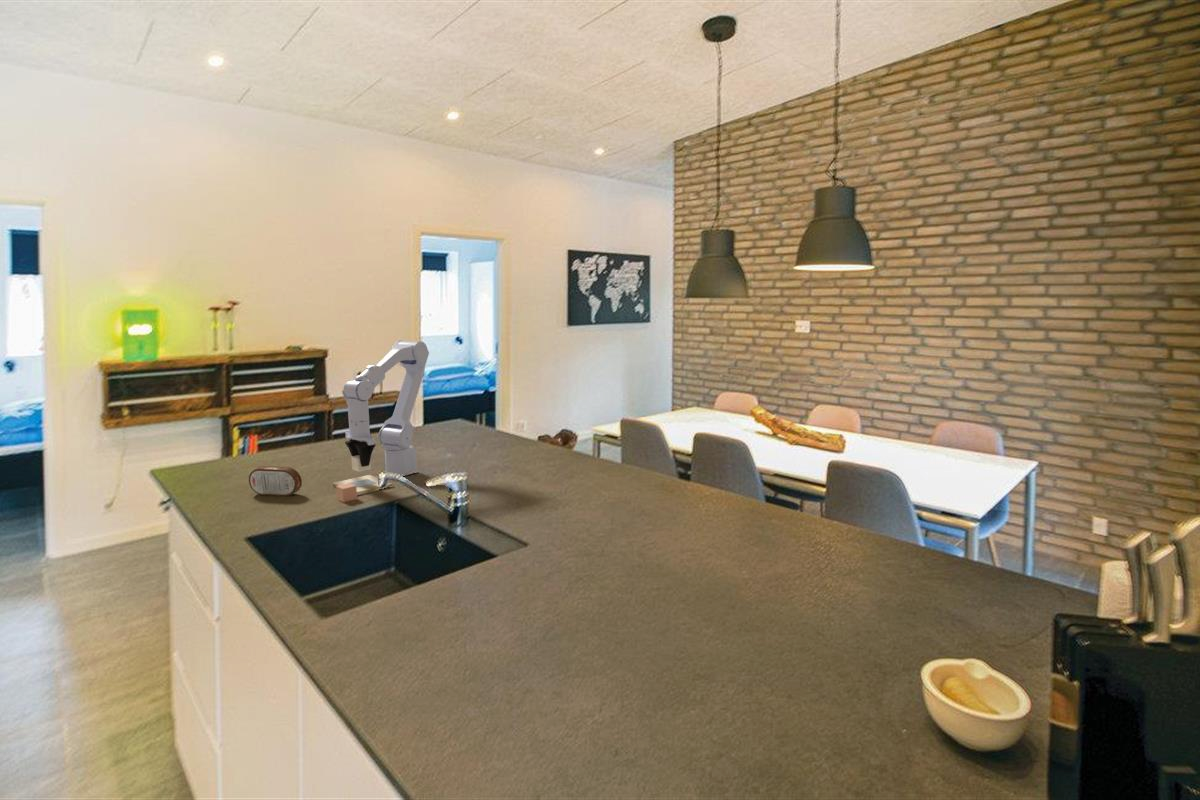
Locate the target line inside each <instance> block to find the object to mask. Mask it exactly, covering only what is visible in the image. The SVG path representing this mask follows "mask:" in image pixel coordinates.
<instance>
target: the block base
mask: <svg viewBox="0 0 1200 800" xmlns="http://www.w3.org/2000/svg"><path fill="white" fill-rule="evenodd" d="M371 458H372V457H371ZM371 458H370V463H369V466H364V467H362V466H361V463H360V457H359V455H357V456H352V455H351V459H350V460H351V470H352V471H355V472H358V473H360V472H363V471H364V472H365V471H369V470H371V469H372V461H371Z"/></svg>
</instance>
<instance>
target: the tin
mask: <svg viewBox="0 0 1200 800" xmlns="http://www.w3.org/2000/svg"><path fill="white" fill-rule="evenodd" d="M302 480H303V479H302V477H301V475H300V473H299V472H298V470H296V469H294V468H293V467H290V466H280V465H279V466H277V465H276V466H275V465H261V466H258V467H256V468H255V469H253V470H252V471H250V473H249V475H248V484H249V487H250V488H251V490H252V491H253V492H254V493H256V494H257V495H261V496H273V495H274V497H276V496H277V497H289V496H292V495H294V494H296V493H297V492H299V491H300V489H301V488H302V486H303V485H302V484H303V481H302Z"/></svg>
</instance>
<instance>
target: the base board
mask: <svg viewBox="0 0 1200 800" xmlns="http://www.w3.org/2000/svg"><path fill="white" fill-rule="evenodd" d="M378 478H379V477H377V476H374V475H372V474H367V475H363V476H358V477H353V478H349V479H344V480H339V481H334V482H332V486H333V487H334V488H336V486H339V485H343V484H348V483H351V484H353V485H355V486H356V489H357V496H361V495H365V494H368V493H373V492H377V491H380V490H379V489H381V488H380V487H379V485H378ZM392 485H393V486H394V484H393V483H392V482H390V483H388V484H387V485H386V486H385V487H383V488H382V490H385V489H384V488H386V487H390V486H392ZM390 488H391V487H390ZM386 489H387V488H386Z"/></svg>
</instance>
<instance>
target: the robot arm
mask: <svg viewBox="0 0 1200 800" xmlns="http://www.w3.org/2000/svg"><path fill="white" fill-rule="evenodd" d="M429 354H430V352H429V350H428V347H427V344H426V343H425V342H424V341H412V340H411V341H410V340H398V341H396V342H395V344H392V346H391V350H390V351H389V352H388V353H387V354H386V355H385V356H384V357H383V358H382V359H381V360H380V361H379V362H378V363H377V364H371V365H367V366H366V367H365V368H366V369H365V370H364V371H363V372H362V373H360V374H359V375H357V376H356V377H355V379H353V380H349V381H347V382H346V383H345V384H344V386H343V389H342V390H341V393H342V396H343V397H344V398H345V403H346V405H347V414H348V415H347V416H348V417H347V418H348V430H349V431H345V433H344V434H345V435H344V436H345V440H346V441H345V442H344V443H345V445H346V447H347V448H348V450H349V452H350V454H351V457H352V456H357V455H359V457H360V463H361V466H362V467H364V466H369V463H370V458H372V454H373V452H374V448H375V447H376V446H377V445H376V443H377V442H376V437H374V436H373V435H372V434H371V430H370V429H371V427H370V413H369V411H370V410H369V399H371V397H372V395H373V392H374V390H375V388H376V387H377V386H378V385H380V384H381V382H382V381H384V380H385V378H386V373H388V372H389V371H390V370H391V369H393V368H394V367H395V366H396V365H398V364H400V365H401V367H403V368H404V369H405V371H406V373H405V376H404V378H403V381H402V385H401V389H400V391H399V394H398V397H397V401H396V404H395V408H394V411H393V413H392V416H391V417H389V418H388V419H386V420H385V421H384V423H383V425H382V427H381V428H380V429H379V432H378V435H377V437H378V442H379V443H380V444H381V445H382V448H383V449H384V462H385V463H384V464H385V467H384V468H385V472H393V473H399V474H404V473H409V472H412V471H416V470H417V471H418V459H417V457H418V455H417V452H416V448H415V447H414V446H413V445H411V444H412V443H413V440H414V431H415V427H414V425H413V424H412V422H411V421H410V420H411V416H412V413H413V410H414V406H415V402H416V401H417V397H418V393H419V390H420V387H421V384H422V381H423V377H424V375H425V370H426V365H427V362H428V358H429V356H430V355H429Z"/></svg>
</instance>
